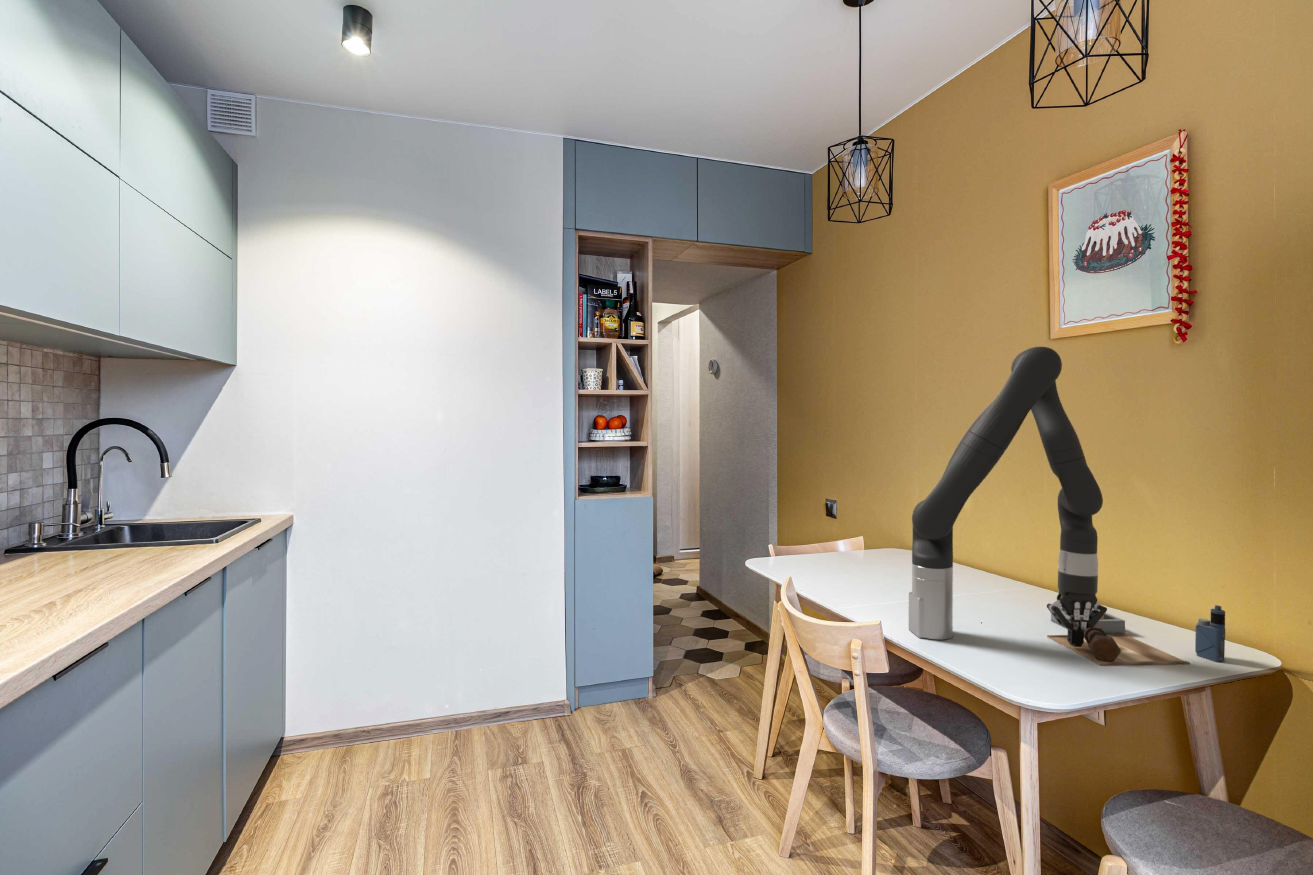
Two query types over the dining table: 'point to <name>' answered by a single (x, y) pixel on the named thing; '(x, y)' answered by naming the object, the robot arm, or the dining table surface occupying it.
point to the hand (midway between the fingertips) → (1075, 645)
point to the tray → (1105, 624)
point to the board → (1124, 652)
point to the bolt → (1101, 644)
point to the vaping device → (1211, 636)
